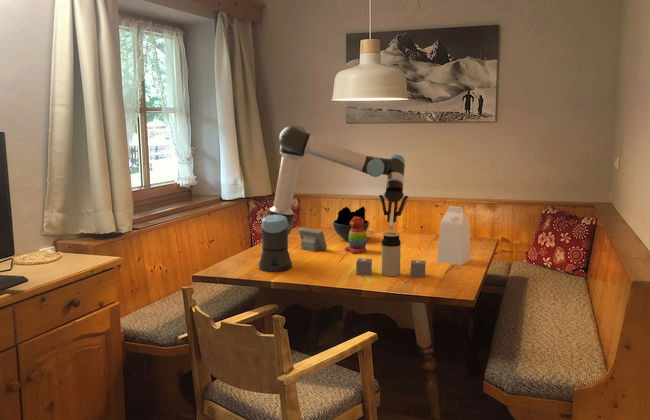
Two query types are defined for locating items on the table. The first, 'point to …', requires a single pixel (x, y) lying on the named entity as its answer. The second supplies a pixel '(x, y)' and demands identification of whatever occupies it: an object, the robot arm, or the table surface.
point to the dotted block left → (363, 266)
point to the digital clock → (312, 240)
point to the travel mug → (391, 254)
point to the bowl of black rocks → (348, 221)
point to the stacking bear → (357, 236)
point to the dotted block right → (418, 268)
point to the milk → (454, 237)
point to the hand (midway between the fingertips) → (391, 227)
